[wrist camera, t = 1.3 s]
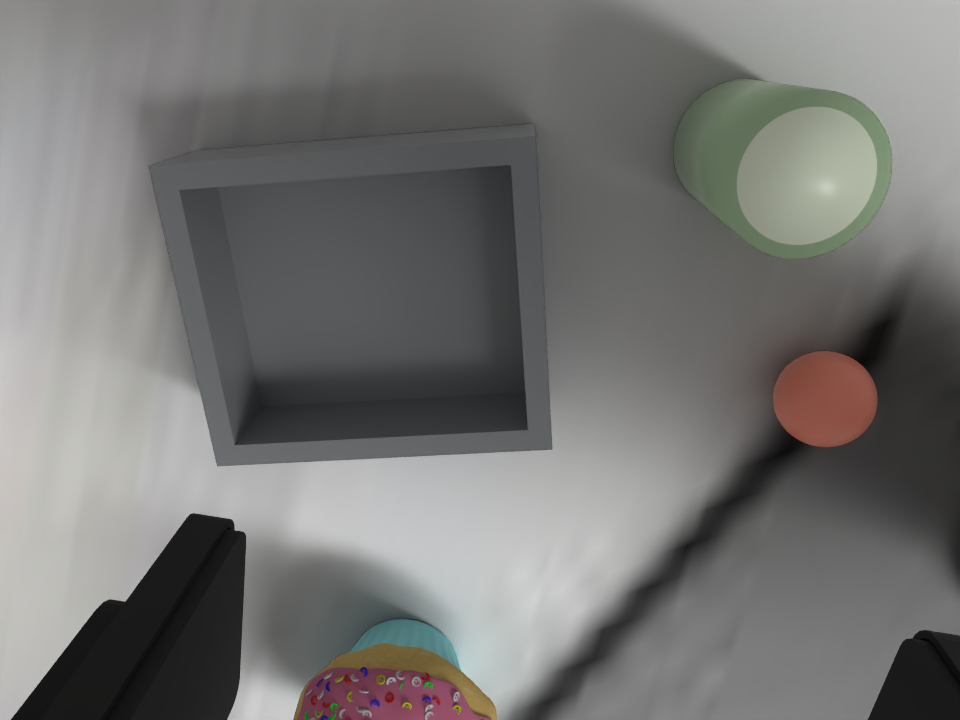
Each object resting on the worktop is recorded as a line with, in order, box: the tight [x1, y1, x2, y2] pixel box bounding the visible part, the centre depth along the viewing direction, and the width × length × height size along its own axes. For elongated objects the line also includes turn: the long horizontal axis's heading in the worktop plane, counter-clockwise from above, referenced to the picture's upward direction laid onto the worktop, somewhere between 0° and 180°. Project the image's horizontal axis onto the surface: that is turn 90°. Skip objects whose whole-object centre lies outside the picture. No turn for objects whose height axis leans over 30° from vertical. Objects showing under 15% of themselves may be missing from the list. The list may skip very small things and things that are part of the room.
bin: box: [149, 124, 552, 466], centre depth 28 cm, size 12×11×4 cm
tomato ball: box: [773, 351, 878, 447], centre depth 29 cm, size 4×4×4 cm
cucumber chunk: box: [673, 79, 892, 259], centre depth 24 cm, size 4×4×7 cm
